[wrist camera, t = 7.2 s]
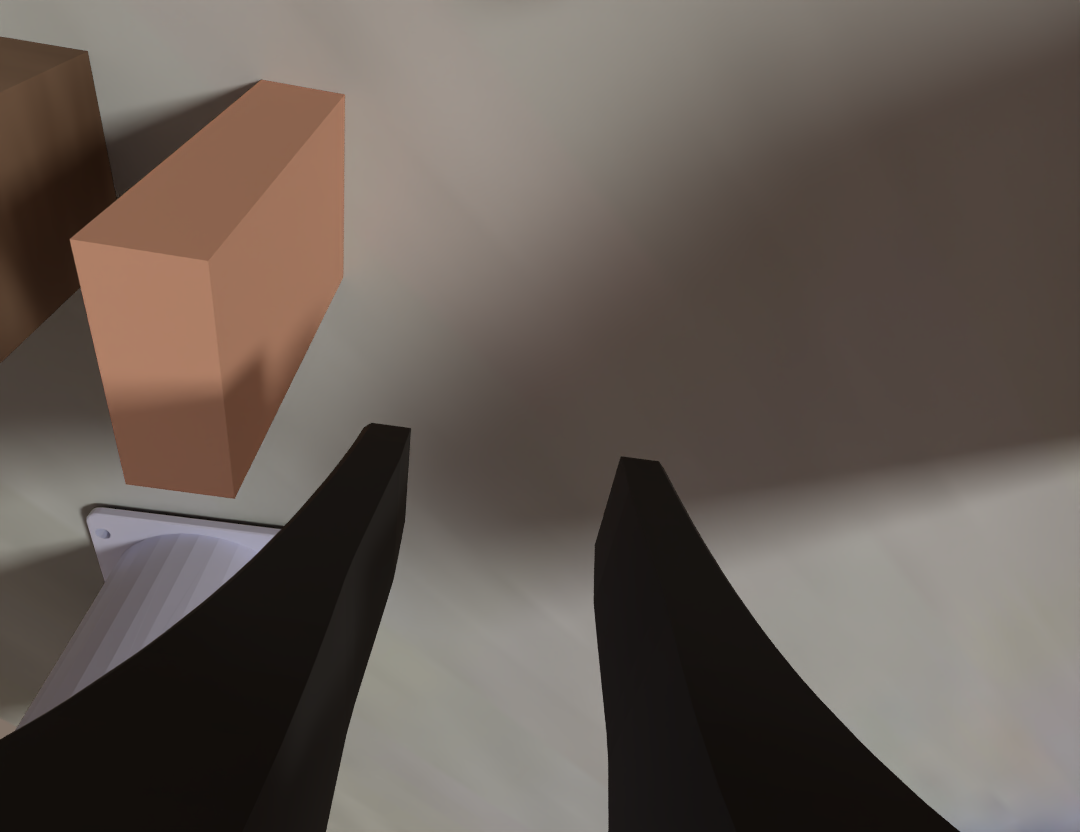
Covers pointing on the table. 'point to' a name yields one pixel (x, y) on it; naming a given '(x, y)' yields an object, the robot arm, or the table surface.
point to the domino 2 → (216, 286)
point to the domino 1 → (45, 179)
